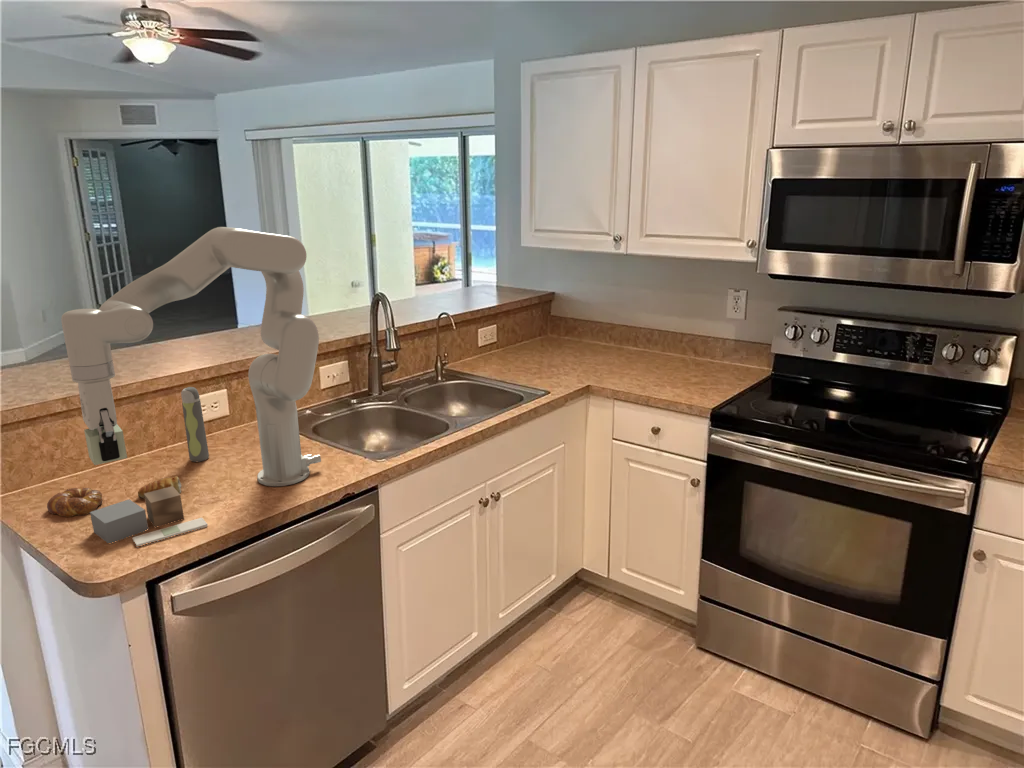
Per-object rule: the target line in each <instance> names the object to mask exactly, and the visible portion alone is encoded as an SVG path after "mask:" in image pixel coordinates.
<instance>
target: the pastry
mask: <svg viewBox="0 0 1024 768" xmlns="http://www.w3.org/2000/svg"><path fill="white" fill-rule="evenodd" d="M171 486H173V487H174V488H175V489H176V490H177V492H178V493H179V494H180V495H181V493H182V490H181V488H182V482H181V481H180V477H179V476H177V475H175V476H174V477H165V478H160V479H158V480H154V481H153V482H150V483H148V484H145V485H143V486H141V487H140V489H139V490H138V491H137V495H138V497H140V498H141V499H142V500H143V499H144V500H145V497H144V493H148V492H152V491H156V490H160V489H164V488H167V487H171Z"/></svg>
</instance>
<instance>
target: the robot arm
mask: <svg viewBox="0 0 1024 768" xmlns="http://www.w3.org/2000/svg"><path fill="white" fill-rule="evenodd" d="M306 262H307V251H306V248H305V245H304V244H303V243H302V242H301V241H300V240H299V239H298V238H296V237H294V236H292V235H283V234H277V233H269V232H261V231H255V230H249V229H244V228H236V227H230V226H229V227H228V226H217V227H214V228H212V229H210V230H209V231H207V232H206V233H205V234H203V235H201V236H200V237H199V238H198V239H197V240H195V241H194V242H192V243H191V244H190V245H189V246H187V247H186V248H185V249H184V250H182V251H181V252H179V253H178V254H177V255H175V256H173V258H172V259H170V260H169V261H168V262H166V263H163V264H162V265H161V266H159V267H157V268H155V269H153V270H151V271H150V272H149V271H148V273H146V274H144V275H142V276H139V277H138V278H136V279H135V280H133V281H131V282H129V283H128V284H127V285H125V286H124V287H122V288H121V289H120V290H118V291H117V292H115V293H114V294H113V295H112V296H111V297H109V298H108V299H106V301H104V302H103V303H102V304H101V305H100V307H99V308H98V309H97V308H77V309H72V310H68V311H66V312H64V313H63V314H62V315H61V326H62V332H63V333H62V334H63V336H64V337H63V338H64V343H65V347H66V353H67V359H68V360H67V361H68V365H69V369H70V375H71V380H72V382H73V383H77V386H78V388H77V389H78V394H79V399H80V400H79V401H80V409H81V415H82V421H83V422H84V424H85V425H86V427H87V429H90V430H92V431H94V429H97V430H98V434H99V438H100V442H99V447H100V453H101V458H102V461H108V460H113V459H117V458H119V457H120V455H119V449H118V443H117V439H116V436H115V432H114V427H113V426H115V425H116V424H117V425H118V420H117V413H116V405H115V400H114V394H113V388H112V385H111V380H110V379H112V378H115V377H116V371H115V366H114V361H113V354H112V348H111V347H112V346H111V344H131V343H138V342H141V341H143V340H145V339H147V338H148V337H149V336H150V334H151V333H152V331H153V329H154V321H153V318H152V316H151V315H150V313H151V312H153V311H155V310H156V309H158V308H161V307H162V306H164V305H166V304H169V303H172V302H173V303H174V302H175V301H176V302H177V301H180V300H182V301H183V300H185V299H188V298H192V297H193V296H196V295H198V294H199V292H201V291H202V290H204V289H205V288H206V287H207V286H208V285H210V284H211V283H212V282H213V281H214V280H216V279H217V278H218V277H219V276H220V275H222V274H223V273H225V272H226V271H227V270H228V269H230V268H235V269H241V270H246V271H247V270H248V271H255V272H261V274H262V276H263V278H264V281H265V287H266V290H265V291H266V293H265V301H264V308H263V313H262V319H261V324H260V325H261V327H260V338H261V340H262V342H263V343H264V344H265V345H266V346H268V347H269V348H272V349H274V350H276V351H278V353H277V354H275V353H264V354H261V355H259V356H257V357H256V358H254V359H253V361H251V363H250V366H249V368H248V375H247V377H248V383H249V387H250V390H251V394H252V398H253V401H254V407H255V412H256V423H257V430H258V438H259V445H260V446H259V447H260V454H261V455H260V457H261V463H262V464H261V465H262V469H261V470H260V471H259V472H258V473H257V475H256V477H257V482H258V483H259V484H261V485H264V486H266V487H267V486H268V487H285V486H290V485H294V484H297V483H300V482H302V481H304V480H305V479H307V478H308V477H309V476H310V474H311V473H310V466H311V465H312V464H317V463H321V462H322V457H321V455H320V454H317V455H312V454H311V453H310V454H306V455H303V454H302V447H301V437H300V428H299V418H298V416H299V415H298V408H297V403H296V401H299V400H300V399H303V398H305V396H306V395H307V394H308V392H309V391H310V389H311V386H312V383H313V379H314V373H315V368H316V362H317V357H318V356H317V355H318V350H319V345H320V344H319V343H320V336H319V330H318V327H317V325H316V323H315V322H314V320H312V319H311V317H308V316H306V315H303V314H302V311H303V300H304V282H303V278H302V275H301V273H300V270H301V269H302V268H304V266H305V264H306ZM101 426H104V427H101ZM102 430H104V431H105V432H103V434H102Z"/></svg>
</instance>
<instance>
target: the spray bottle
mask: <svg viewBox="0 0 1024 768" xmlns="http://www.w3.org/2000/svg"><path fill="white" fill-rule="evenodd" d="M180 394H181V401H182V402H181V403H182V404H181V405H182V412H183V419H184V420H183V422H184V428H185V437H186V443H187V450H188V457H189V460H190V461H191V462H194V463H200V462H204V461H206V460H208V458H210V453H209V446H208V441H207V435H206V427H205V423H204V422H205V421H204V415H203V409H202V404H201V399H200V394H199V391H198V389H197V388H196V387H193V386H188V387H185V388H183V389H182V390H181V393H180Z"/></svg>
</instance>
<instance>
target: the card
mask: <svg viewBox="0 0 1024 768" xmlns="http://www.w3.org/2000/svg"><path fill="white" fill-rule="evenodd" d="M207 526H208V527H209V524H208V523H207V521H205V519H204V518H203V517H198V518H195V519H192V520H189V521H185V522H181V523H178V524H175V525H171V526H168V527H164V528H161V529H157V530H153V531H150V532H147V533H144V534H140V535H139V534H138V535H137V536H136V535H135V536H131V537H132V541H133V543H134V542H135V543H134V544H136V545H135V547H137V546H141V545H143V544H146V543H150V542H154V541H157V542H159V541H158V540H161V541H163V540H162V539H164V540H166V539H165V538H168V537H171V536H174V535H178V534H181V533H184V534H186V533H185V532H188V531H191V532H193V531H192V530H194V531H197V530H196V529H198V530H201V529H204V528H207ZM200 528H201V529H200ZM188 533H189V532H188ZM181 535H182V534H181ZM178 536H179V535H178ZM174 537H175V536H174ZM171 538H172V537H171ZM168 539H169V538H168ZM154 543H155V542H154ZM141 547H142V546H141Z"/></svg>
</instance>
